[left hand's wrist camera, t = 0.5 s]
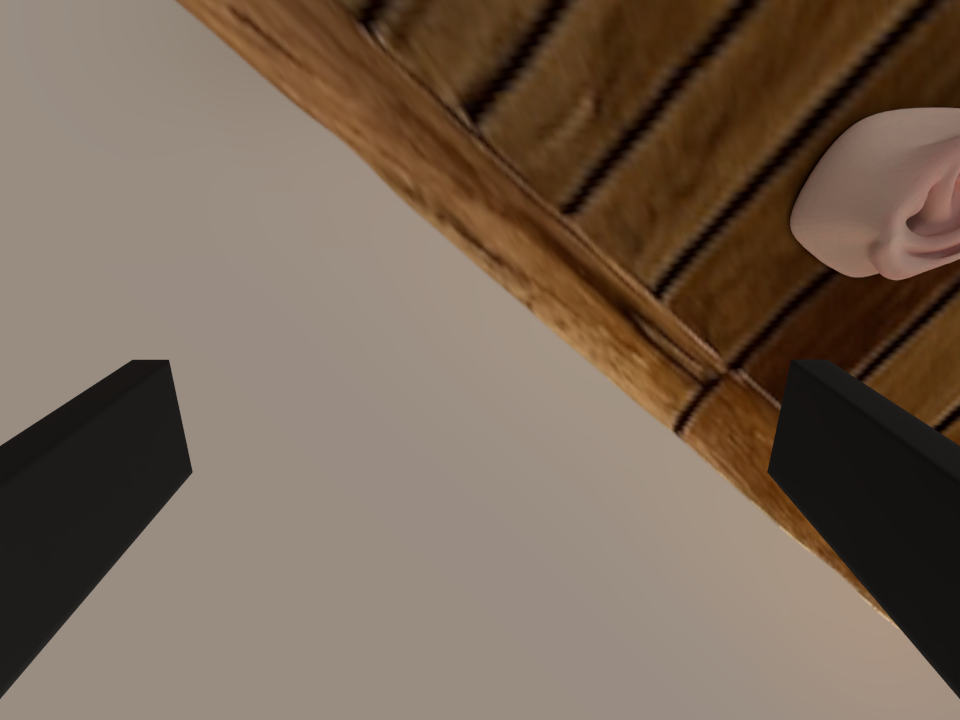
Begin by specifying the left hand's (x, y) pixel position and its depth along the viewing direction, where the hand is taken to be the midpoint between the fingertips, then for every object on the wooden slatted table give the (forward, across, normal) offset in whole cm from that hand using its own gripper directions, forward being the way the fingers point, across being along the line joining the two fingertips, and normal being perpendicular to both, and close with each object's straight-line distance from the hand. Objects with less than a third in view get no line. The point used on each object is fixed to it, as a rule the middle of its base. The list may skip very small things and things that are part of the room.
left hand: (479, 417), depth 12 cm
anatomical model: (+29, +28, +2) cm, 41 cm away
